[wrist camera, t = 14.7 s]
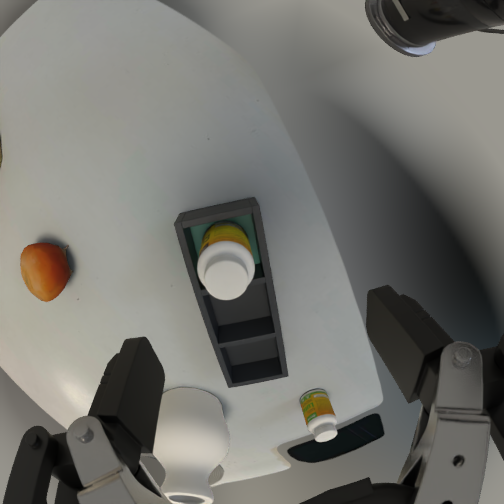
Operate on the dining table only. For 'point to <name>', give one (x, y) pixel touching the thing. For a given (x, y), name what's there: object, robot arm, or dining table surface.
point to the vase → (190, 443)
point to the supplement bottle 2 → (319, 415)
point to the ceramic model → (0, 155)
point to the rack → (241, 308)
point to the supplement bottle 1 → (225, 260)
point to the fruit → (45, 270)
